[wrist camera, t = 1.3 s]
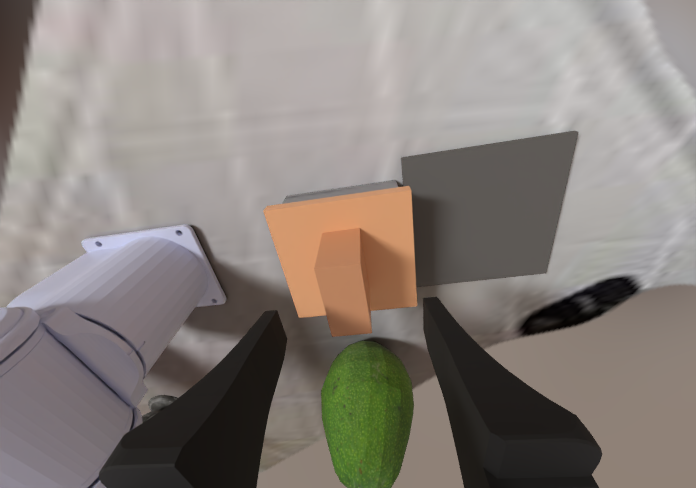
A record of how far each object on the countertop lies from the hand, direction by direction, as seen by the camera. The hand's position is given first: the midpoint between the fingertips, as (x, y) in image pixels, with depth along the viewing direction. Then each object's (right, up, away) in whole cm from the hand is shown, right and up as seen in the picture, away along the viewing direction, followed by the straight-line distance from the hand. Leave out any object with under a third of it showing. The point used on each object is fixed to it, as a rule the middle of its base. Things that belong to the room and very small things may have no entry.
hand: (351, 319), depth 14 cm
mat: (+10, +6, +7) cm, 13 cm away
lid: (0, +3, +6) cm, 7 cm away
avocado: (+2, -7, +15) cm, 17 cm away
